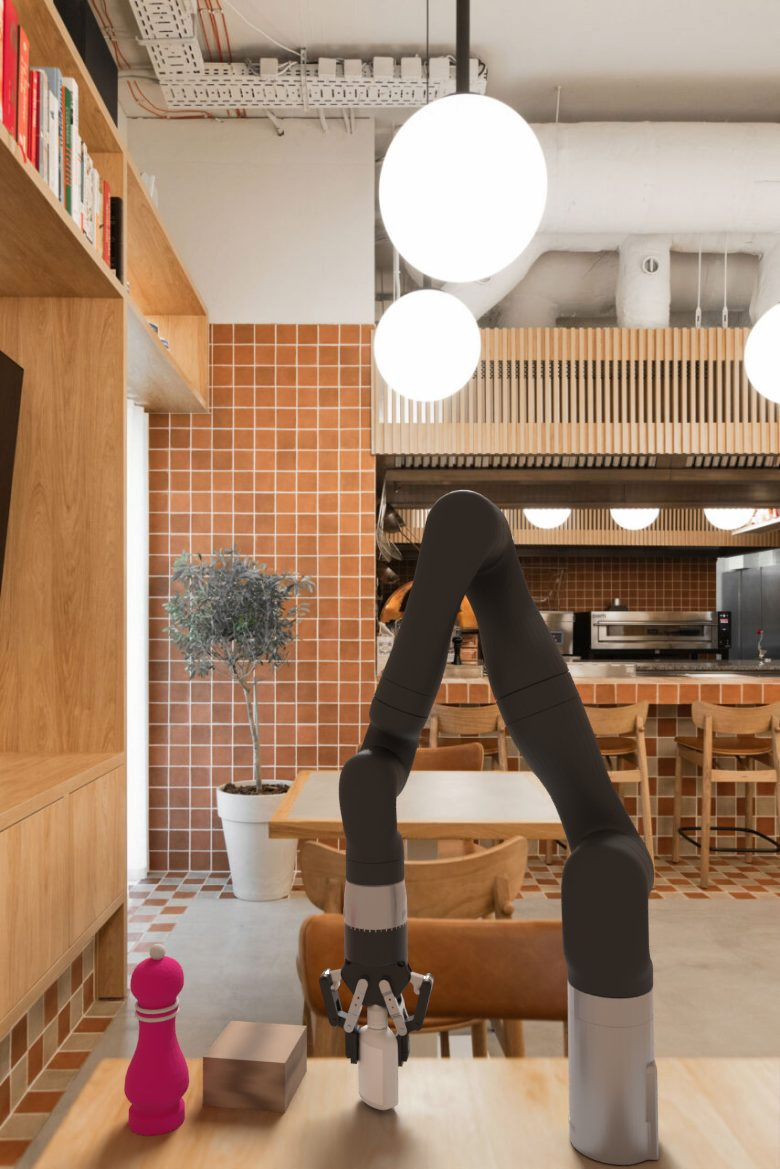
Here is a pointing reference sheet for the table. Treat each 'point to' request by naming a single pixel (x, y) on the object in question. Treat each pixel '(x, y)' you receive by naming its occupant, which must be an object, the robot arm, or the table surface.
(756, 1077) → the table surface
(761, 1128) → the table surface
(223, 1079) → the walnut box
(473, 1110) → the table surface
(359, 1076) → the eye dropper bottle
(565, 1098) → the table surface
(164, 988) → the pepper mill
